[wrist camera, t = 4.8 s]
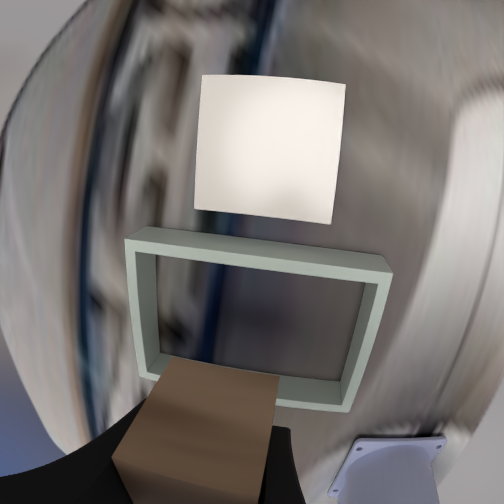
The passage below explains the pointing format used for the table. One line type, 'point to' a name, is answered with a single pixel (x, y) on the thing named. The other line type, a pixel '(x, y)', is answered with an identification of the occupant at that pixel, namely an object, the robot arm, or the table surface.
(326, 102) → the tile
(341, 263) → the green rectangular frame
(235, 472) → the walnut block
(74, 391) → the table surface
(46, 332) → the table surface
